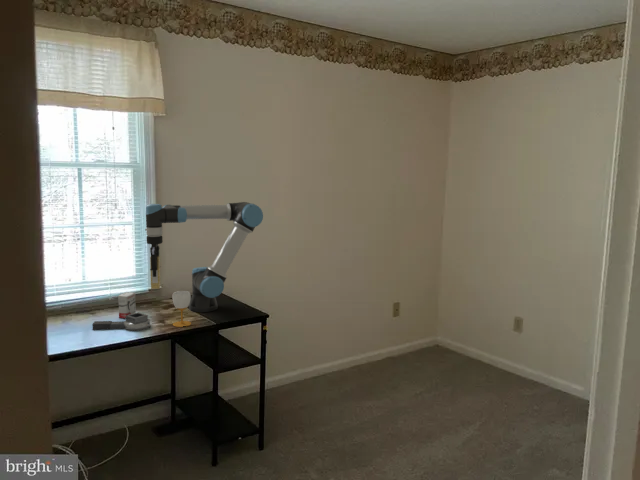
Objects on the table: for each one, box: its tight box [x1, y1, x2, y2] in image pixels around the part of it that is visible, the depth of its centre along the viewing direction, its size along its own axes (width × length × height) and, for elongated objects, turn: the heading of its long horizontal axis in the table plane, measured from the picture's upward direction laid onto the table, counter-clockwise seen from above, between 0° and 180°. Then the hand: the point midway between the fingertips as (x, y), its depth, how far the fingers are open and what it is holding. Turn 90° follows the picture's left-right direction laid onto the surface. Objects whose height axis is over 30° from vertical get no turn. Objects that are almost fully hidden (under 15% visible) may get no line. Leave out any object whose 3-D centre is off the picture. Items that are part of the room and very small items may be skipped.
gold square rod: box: [149, 255, 161, 290], centre depth 267 cm, size 4×4×16 cm
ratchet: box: [91, 311, 151, 332], centre depth 260 cm, size 26×12×6 cm, turn 99°
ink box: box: [117, 291, 137, 319], centre depth 278 cm, size 9×5×12 cm, turn 168°
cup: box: [171, 290, 192, 328], centre depth 266 cm, size 9×9×16 cm
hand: (155, 281), depth 268 cm, fingers closed on gold square rod, 4 cm apart
